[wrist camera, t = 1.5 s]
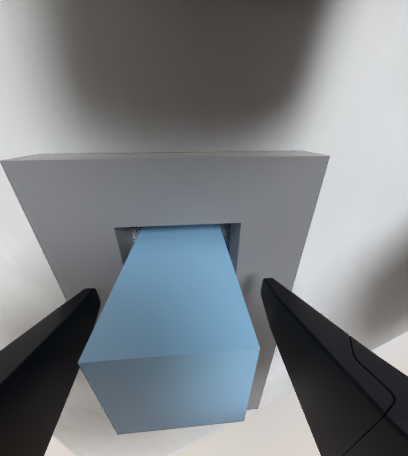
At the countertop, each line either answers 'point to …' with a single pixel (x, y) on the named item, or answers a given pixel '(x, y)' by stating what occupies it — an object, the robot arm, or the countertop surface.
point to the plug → (173, 335)
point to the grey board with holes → (172, 215)
